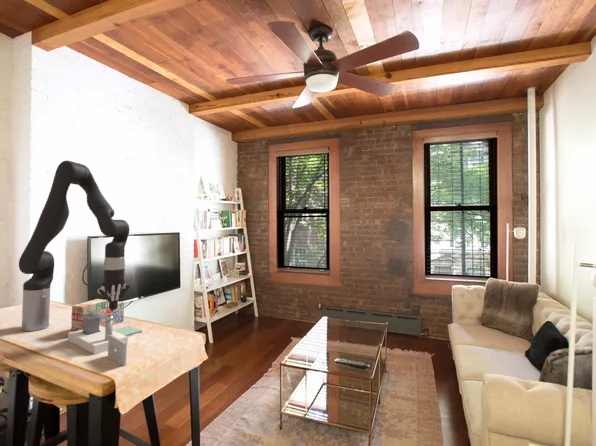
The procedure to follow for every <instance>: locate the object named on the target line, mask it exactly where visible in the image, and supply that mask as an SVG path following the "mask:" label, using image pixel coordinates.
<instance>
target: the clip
mask: <svg viewBox="0 0 596 446" xmlns="http://www.w3.org/2000/svg"><path fill="white" fill-rule="evenodd" d="M87 313H89V314H92V315H94V316H97V317H99V318H102V319H105V320H106V321H110V320H113V316H112V315H108V314H105V313H103V312H100V311H97V310H94V309H89V310H87Z"/></svg>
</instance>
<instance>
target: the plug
mask: <svg viewBox="0 0 596 446" xmlns="http://www.w3.org/2000/svg"><path fill="white" fill-rule="evenodd" d="M99 322H100V318H99V317H97V316H94V315H92V314H84V315H83V334H86V335H89V334H93V333H97V332H99Z"/></svg>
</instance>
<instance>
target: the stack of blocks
mask: <svg viewBox="0 0 596 446" xmlns="http://www.w3.org/2000/svg"><path fill="white" fill-rule="evenodd" d="M124 307H125V303H124V301H118V307H117V308H116V310H110V309H109V301H108V300H104V299H103V298H102V299H101V298H95V299H92V300H88V301H85V302H80V303H77V304H74V305H72V306H71V330H70V333H71V332H75V331H79V330H83V315H84V314H89V313H87V310H89V309H94V310H97V311H100V312H103V313H105V314H108V315H112V316H113V326H114V325H117V324H119V323H122V322H124V318H125V316H124V315H125V308H124ZM105 323H106V320H105V319H102V318H100V322H99V326H100V325H101V326H103V327H105Z"/></svg>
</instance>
